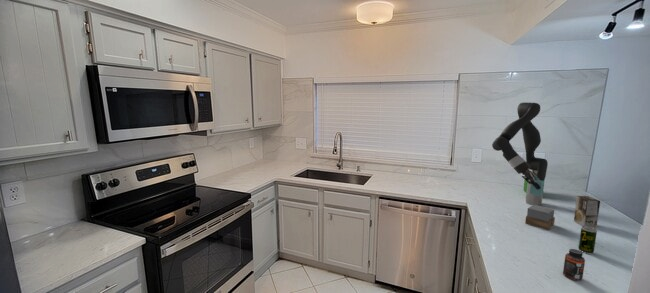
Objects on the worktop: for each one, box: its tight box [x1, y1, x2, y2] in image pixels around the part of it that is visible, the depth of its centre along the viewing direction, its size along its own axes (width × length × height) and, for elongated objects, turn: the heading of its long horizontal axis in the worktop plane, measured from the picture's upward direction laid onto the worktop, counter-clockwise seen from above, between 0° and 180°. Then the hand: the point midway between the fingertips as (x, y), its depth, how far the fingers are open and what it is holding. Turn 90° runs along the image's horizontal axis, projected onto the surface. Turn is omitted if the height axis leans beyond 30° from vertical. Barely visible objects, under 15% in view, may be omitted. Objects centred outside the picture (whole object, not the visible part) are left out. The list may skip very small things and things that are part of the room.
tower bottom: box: [524, 215, 556, 231], centre depth 159 cm, size 11×11×5 cm
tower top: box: [526, 205, 555, 222], centre depth 159 cm, size 10×10×5 cm
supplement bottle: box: [562, 248, 586, 281], centre depth 110 cm, size 6×6×11 cm
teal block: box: [530, 179, 545, 196], centre depth 159 cm, size 5×5×8 cm
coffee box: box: [573, 195, 601, 229], centre depth 158 cm, size 9×6×16 cm
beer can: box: [578, 225, 598, 254], centre depth 129 cm, size 5×5×12 cm
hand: (540, 187), depth 158 cm, fingers closed on teal block, 5 cm apart
